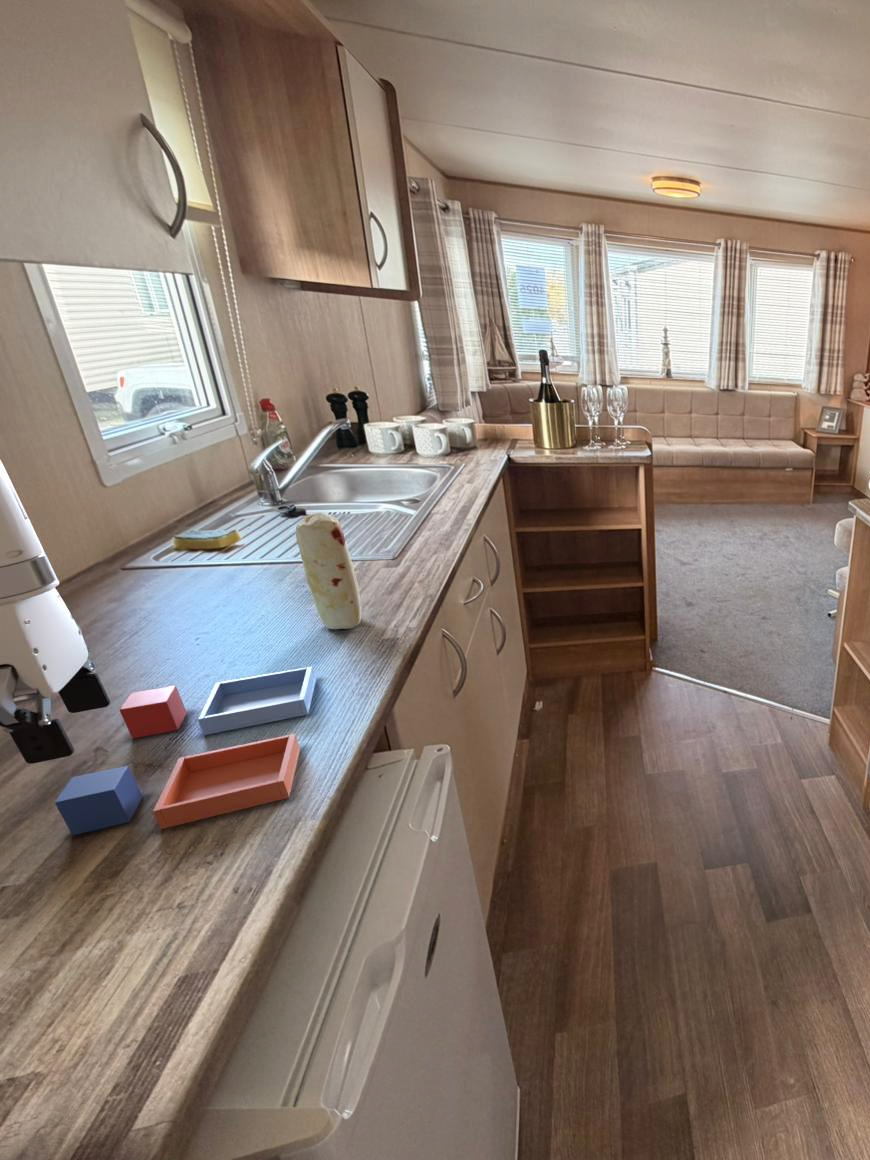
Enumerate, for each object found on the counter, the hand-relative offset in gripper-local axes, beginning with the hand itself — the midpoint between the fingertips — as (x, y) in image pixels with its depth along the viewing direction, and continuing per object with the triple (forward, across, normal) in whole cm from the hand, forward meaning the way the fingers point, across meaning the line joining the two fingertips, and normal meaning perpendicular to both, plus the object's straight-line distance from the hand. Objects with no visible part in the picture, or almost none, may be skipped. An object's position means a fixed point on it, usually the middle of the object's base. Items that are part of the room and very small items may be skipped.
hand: (72, 732), depth 66 cm
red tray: (+11, 0, +10) cm, 15 cm away
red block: (+11, -19, 0) cm, 22 cm away
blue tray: (+11, -19, +10) cm, 24 cm away
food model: (+11, -45, +18) cm, 50 cm away
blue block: (+11, 0, -1) cm, 11 cm away
